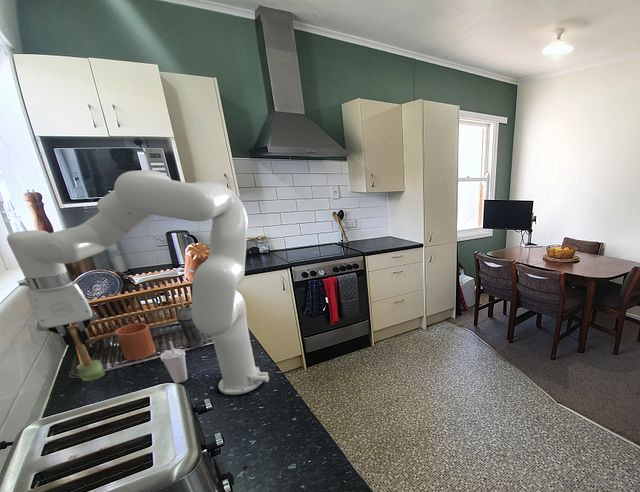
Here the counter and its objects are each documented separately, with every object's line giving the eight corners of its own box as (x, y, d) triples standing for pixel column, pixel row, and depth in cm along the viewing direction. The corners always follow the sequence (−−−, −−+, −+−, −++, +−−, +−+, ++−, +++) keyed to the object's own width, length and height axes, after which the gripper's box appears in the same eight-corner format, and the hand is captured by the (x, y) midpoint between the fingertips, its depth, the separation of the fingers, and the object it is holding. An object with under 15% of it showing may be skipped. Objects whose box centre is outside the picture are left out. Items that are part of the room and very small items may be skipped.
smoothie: (180, 386, 107) (168, 347, 101) (163, 383, 108) (150, 344, 103) (197, 375, 113) (186, 337, 107) (180, 372, 114) (168, 335, 108)
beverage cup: (211, 343, 133) (198, 294, 124) (191, 351, 127) (176, 300, 119) (201, 338, 136) (188, 290, 128) (181, 345, 130) (166, 295, 122)
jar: (162, 348, 128) (154, 323, 124) (144, 360, 120) (134, 335, 116) (137, 347, 128) (128, 323, 124) (117, 359, 120) (107, 334, 116)
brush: (109, 371, 102) (88, 322, 95) (94, 381, 97) (71, 330, 91) (92, 371, 102) (70, 322, 95) (77, 381, 97) (52, 330, 91)
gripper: (1, 292, 80) (38, 360, 88) (92, 278, 90) (117, 340, 98) (4, 284, 85) (38, 349, 93) (90, 271, 95) (114, 331, 103)
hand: (79, 344), depth 95 cm, fingers closed on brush
